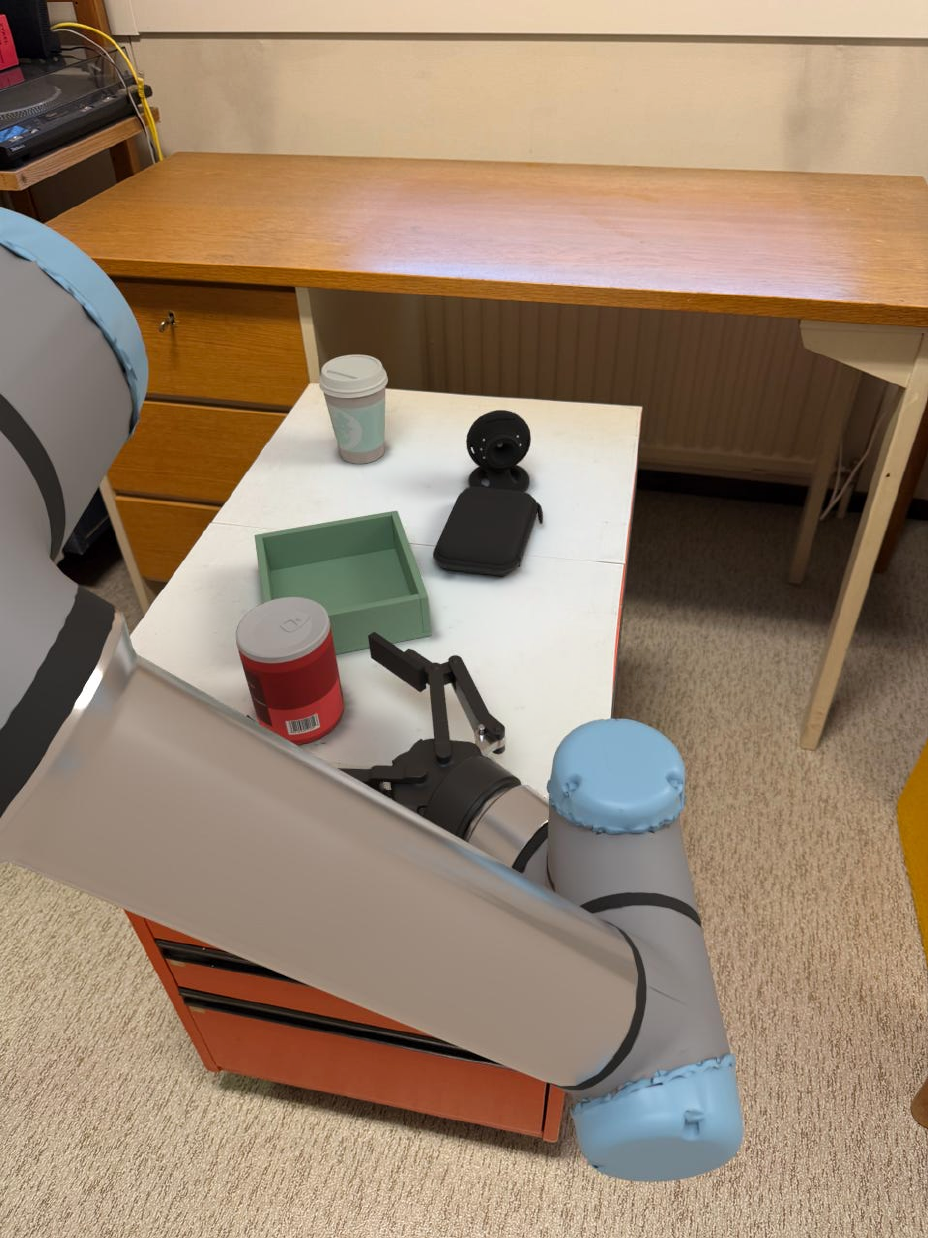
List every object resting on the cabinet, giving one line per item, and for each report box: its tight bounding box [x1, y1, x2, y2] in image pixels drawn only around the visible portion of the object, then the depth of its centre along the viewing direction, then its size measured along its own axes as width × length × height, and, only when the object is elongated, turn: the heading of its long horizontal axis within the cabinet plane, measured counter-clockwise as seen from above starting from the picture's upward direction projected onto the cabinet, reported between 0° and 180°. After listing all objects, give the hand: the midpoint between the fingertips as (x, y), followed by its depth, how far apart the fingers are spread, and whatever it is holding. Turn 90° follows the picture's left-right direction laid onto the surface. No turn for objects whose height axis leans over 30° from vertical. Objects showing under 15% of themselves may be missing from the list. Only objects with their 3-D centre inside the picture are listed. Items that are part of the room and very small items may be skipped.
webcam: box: [465, 409, 532, 492], centre depth 106 cm, size 8×8×10 cm
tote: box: [254, 510, 432, 655], centre depth 91 cm, size 16×16×5 cm
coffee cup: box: [318, 354, 389, 465], centre depth 112 cm, size 8×8×12 cm
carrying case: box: [432, 486, 544, 577], centre depth 99 cm, size 11×3×15 cm
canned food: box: [234, 597, 345, 745], centre depth 77 cm, size 8×8×11 cm
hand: (312, 684), depth 76 cm, fingers open, 13 cm apart
